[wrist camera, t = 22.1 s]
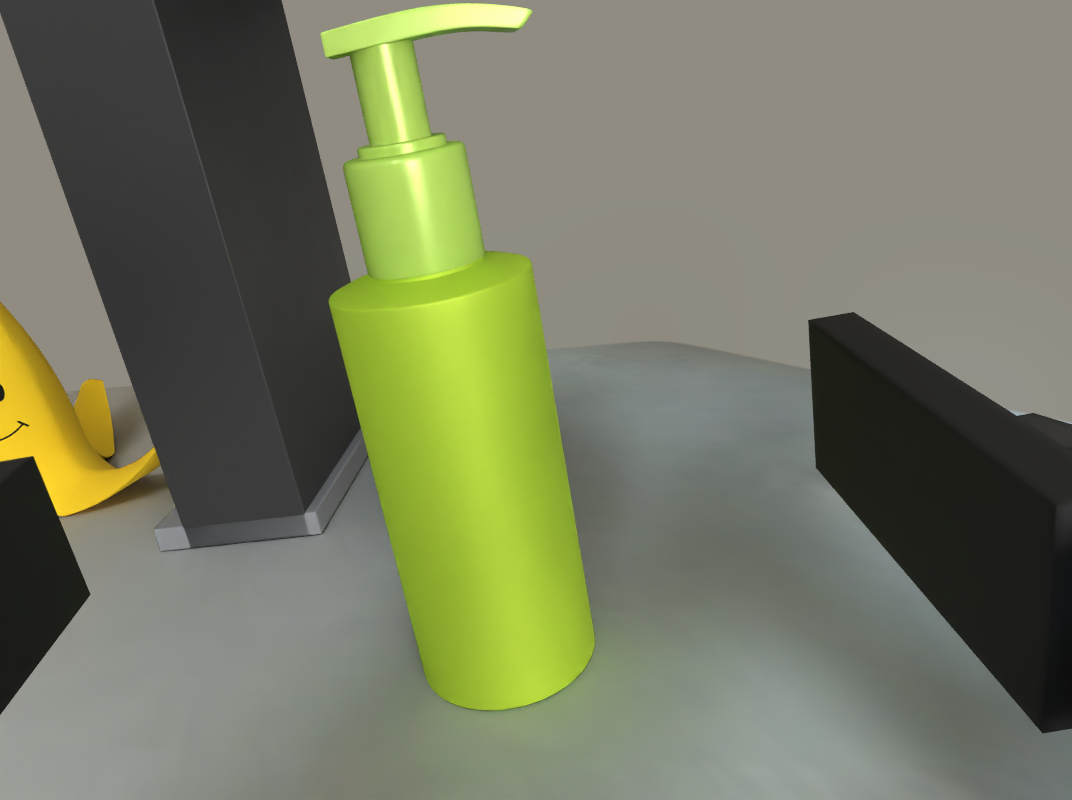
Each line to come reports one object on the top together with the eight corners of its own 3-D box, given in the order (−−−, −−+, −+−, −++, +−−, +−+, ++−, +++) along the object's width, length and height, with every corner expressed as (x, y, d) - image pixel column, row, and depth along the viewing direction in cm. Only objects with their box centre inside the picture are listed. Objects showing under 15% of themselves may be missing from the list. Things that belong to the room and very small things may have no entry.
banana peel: (187, 503, 45) (75, 181, 39) (-188, 580, 44) (-362, 258, 38) (244, 397, 61) (170, 154, 55) (-32, 452, 59) (-139, 209, 53)
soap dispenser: (643, 680, 27) (539, -21, 20) (424, 729, 27) (238, 30, 19) (606, 580, 32) (514, 2, 25) (424, 618, 32) (279, 42, 25)
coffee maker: (621, 387, 51) (544, -175, 41) (626, 501, 38) (515, -282, 28) (268, 431, 54) (113, -84, 43) (159, 551, 41) (-97, -141, 30)
